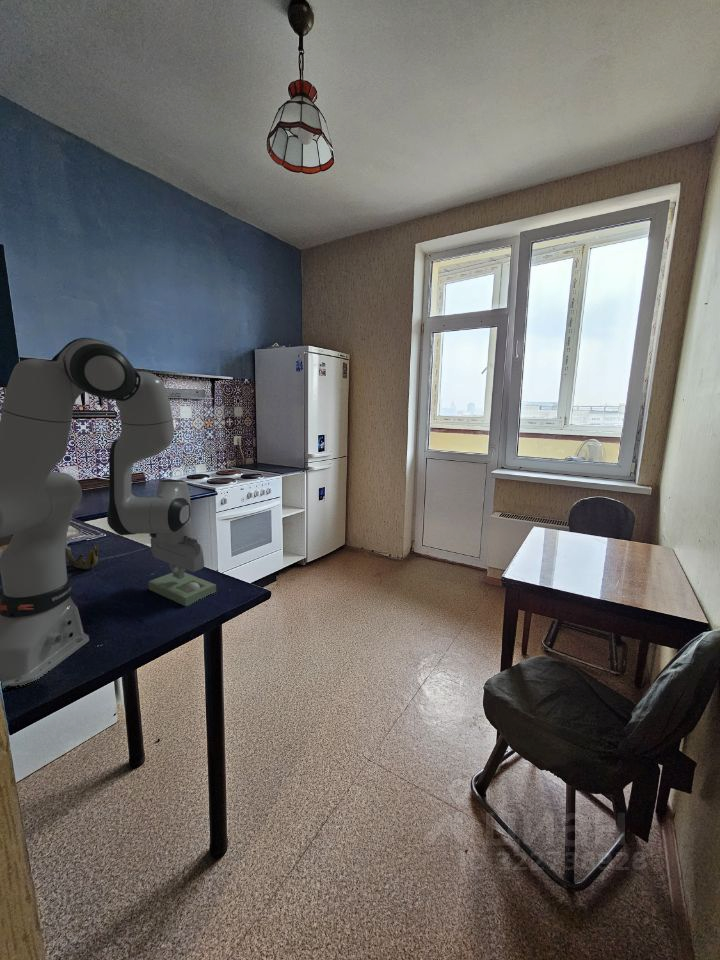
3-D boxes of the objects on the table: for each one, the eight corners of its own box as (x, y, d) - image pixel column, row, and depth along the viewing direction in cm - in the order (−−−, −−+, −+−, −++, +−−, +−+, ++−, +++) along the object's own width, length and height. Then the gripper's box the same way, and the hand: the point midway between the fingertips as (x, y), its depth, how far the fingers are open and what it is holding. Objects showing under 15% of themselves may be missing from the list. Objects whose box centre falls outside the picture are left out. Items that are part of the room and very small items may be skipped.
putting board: (216, 592, 115) (215, 584, 115) (186, 606, 107) (185, 598, 106) (179, 577, 124) (178, 570, 124) (148, 589, 116) (148, 581, 116)
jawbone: (76, 564, 120) (70, 534, 122) (68, 578, 129) (62, 550, 132) (111, 558, 127) (104, 529, 129) (100, 571, 136) (94, 545, 139)
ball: (196, 584, 111) (188, 578, 113) (187, 597, 110) (179, 590, 112) (205, 587, 114) (197, 581, 116) (197, 599, 113) (189, 593, 115)
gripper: (208, 537, 111) (210, 582, 113) (165, 524, 121) (168, 566, 123) (188, 543, 105) (191, 590, 108) (145, 529, 115) (148, 573, 118)
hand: (178, 577), depth 116 cm, fingers closed
